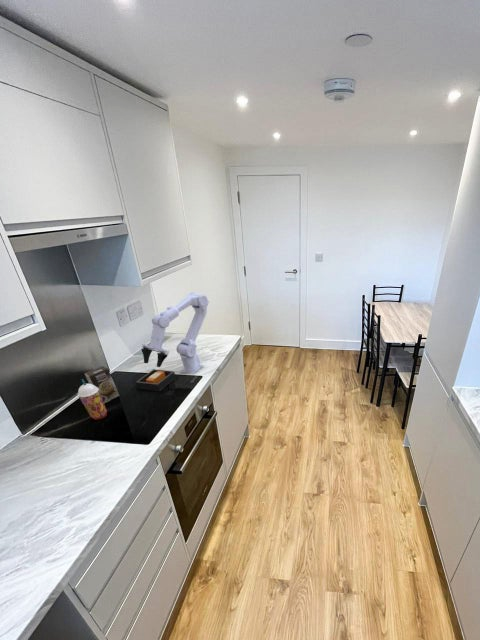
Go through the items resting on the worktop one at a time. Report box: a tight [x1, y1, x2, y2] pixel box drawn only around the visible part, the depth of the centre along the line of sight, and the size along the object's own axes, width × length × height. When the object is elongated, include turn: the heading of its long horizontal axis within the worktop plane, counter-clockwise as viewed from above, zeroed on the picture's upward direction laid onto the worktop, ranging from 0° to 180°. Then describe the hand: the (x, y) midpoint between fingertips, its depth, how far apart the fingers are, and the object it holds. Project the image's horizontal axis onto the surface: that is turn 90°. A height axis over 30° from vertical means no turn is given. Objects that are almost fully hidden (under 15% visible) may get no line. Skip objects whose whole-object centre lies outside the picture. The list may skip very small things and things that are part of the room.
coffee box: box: [84, 365, 120, 405], centre depth 160 cm, size 9×6×16 cm
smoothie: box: [77, 378, 108, 421], centre depth 146 cm, size 8×8×20 cm
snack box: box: [146, 371, 166, 384], centre depth 174 cm, size 10×4×4 cm, turn 164°
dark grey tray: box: [135, 368, 177, 392], centre depth 174 cm, size 15×14×4 cm
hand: (152, 365), depth 166 cm, fingers open, 7 cm apart
